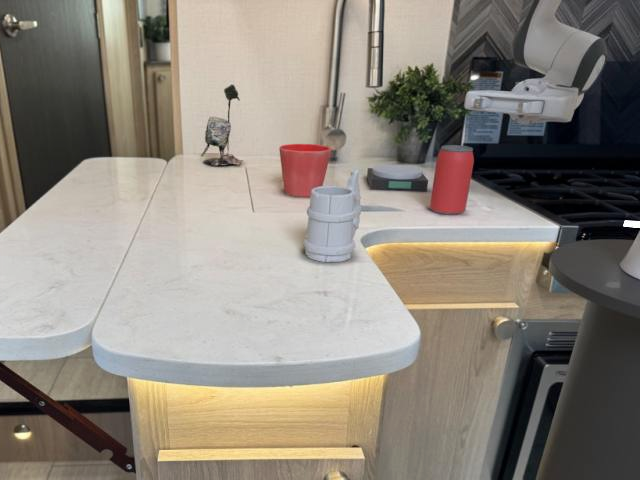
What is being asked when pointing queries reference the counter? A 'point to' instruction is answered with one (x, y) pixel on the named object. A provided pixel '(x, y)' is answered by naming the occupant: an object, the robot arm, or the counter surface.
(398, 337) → the counter surface
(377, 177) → the kitchen scale
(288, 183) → the flower pot
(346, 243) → the mug
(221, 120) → the grey tall irregular piece
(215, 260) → the counter surface
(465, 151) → the beer can
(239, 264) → the counter surface
